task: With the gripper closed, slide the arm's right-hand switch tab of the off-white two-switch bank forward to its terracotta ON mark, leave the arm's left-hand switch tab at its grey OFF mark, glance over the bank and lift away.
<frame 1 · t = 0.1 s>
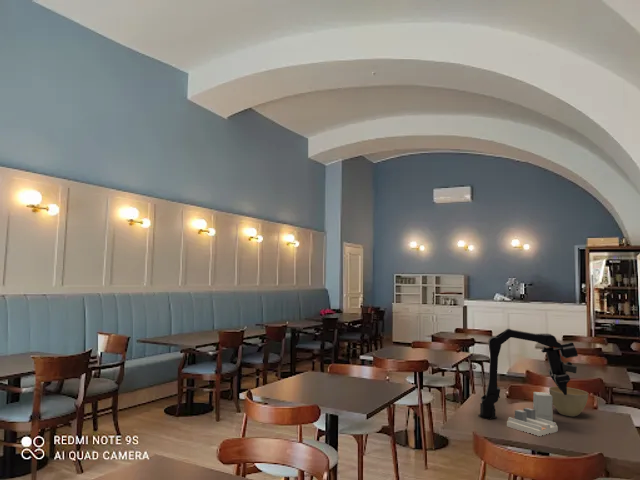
hand: (563, 392, 228), 15 cm above the table, tool pointing down, fingers open, 9 cm apart
olive green bowl: (568, 414, 246), on the table
switch tab 2: (529, 414, 225), point 5 cm above the table, slide at 0.0 cm
supplement box: (542, 420, 235), on the table
switch bank: (531, 428, 219), on the table
switch tab 1: (520, 416, 221), point 5 cm above the table, slide at 0.0 cm
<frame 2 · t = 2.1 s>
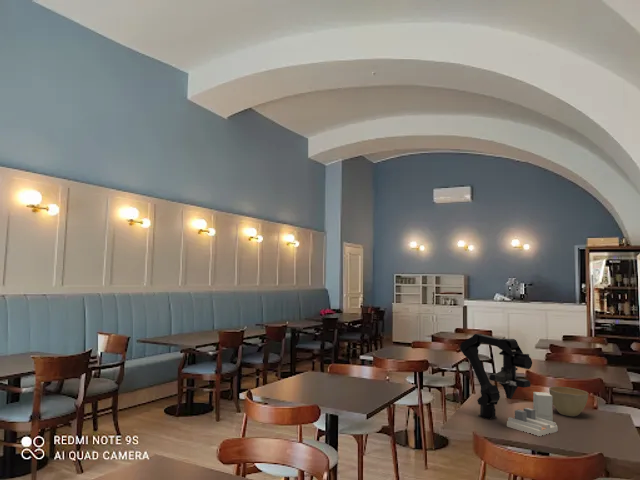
hand: (509, 398, 226), 12 cm above the table, tool pointing down, fingers closed
nothing on the table moved.
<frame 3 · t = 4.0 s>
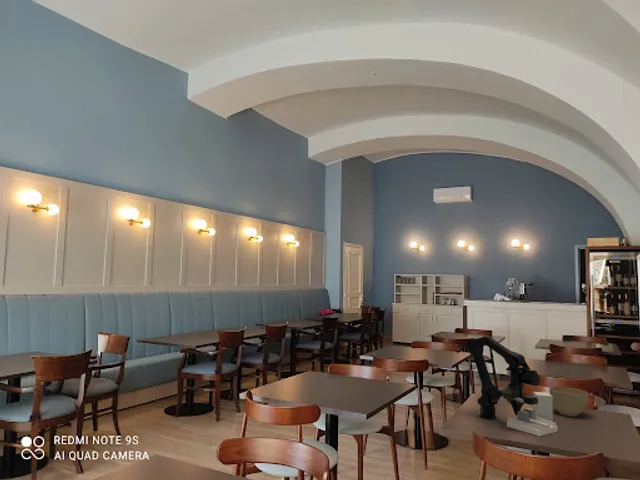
hand: (516, 415, 223), 5 cm above the table, tool pointing down, fingers closed
switch tab 1: (523, 417, 220), point 5 cm above the table, slide at 1.4 cm, touching gripper
everything else where it was.
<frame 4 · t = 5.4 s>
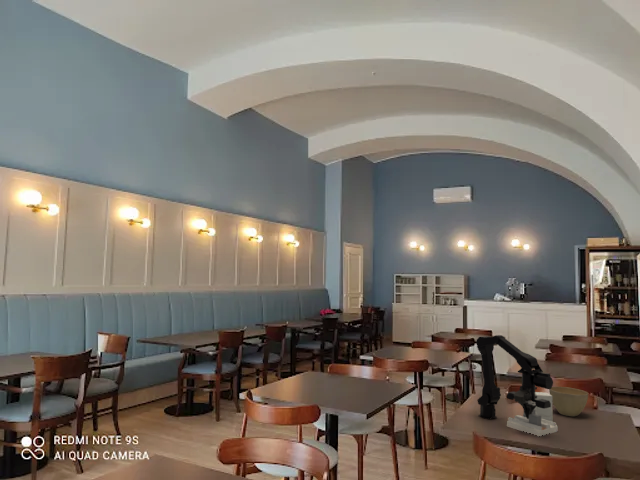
hand: (528, 418, 218), 5 cm above the table, tool pointing down, fingers closed
switch tab 1: (535, 420, 215), point 5 cm above the table, slide at 7.2 cm, touching gripper
everything else where it was.
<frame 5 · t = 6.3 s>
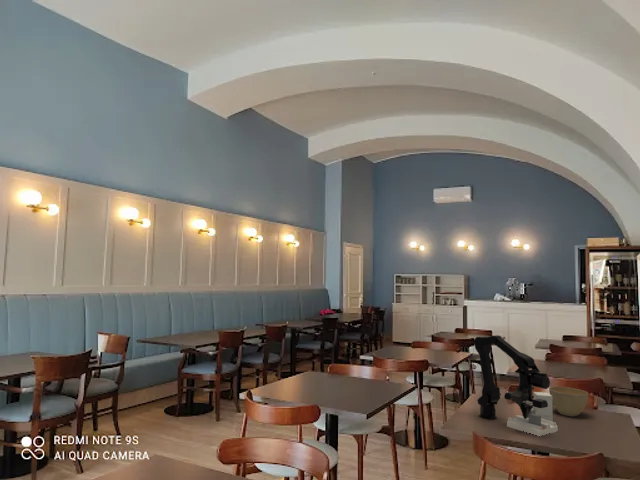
hand: (525, 418, 219), 5 cm above the table, tool pointing down, fingers closed
switch tab 1: (534, 420, 215), point 5 cm above the table, slide at 7.1 cm
everything else where it was.
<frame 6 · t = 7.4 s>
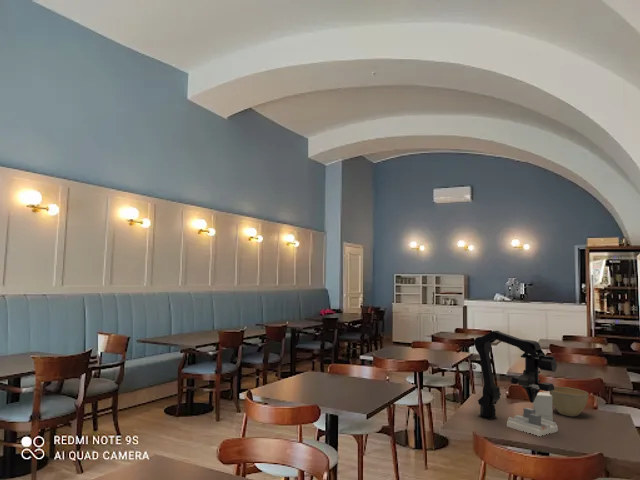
hand: (531, 402, 220), 12 cm above the table, tool pointing down, fingers closed
nothing on the table moved.
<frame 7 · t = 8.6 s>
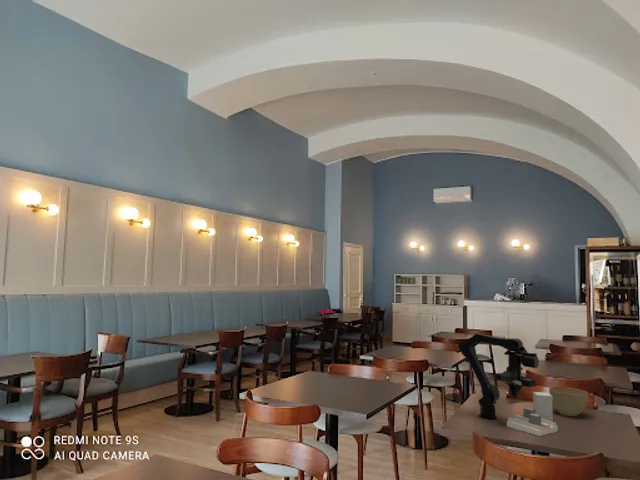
hand: (514, 397, 228), 12 cm above the table, tool pointing down, fingers closed
nothing on the table moved.
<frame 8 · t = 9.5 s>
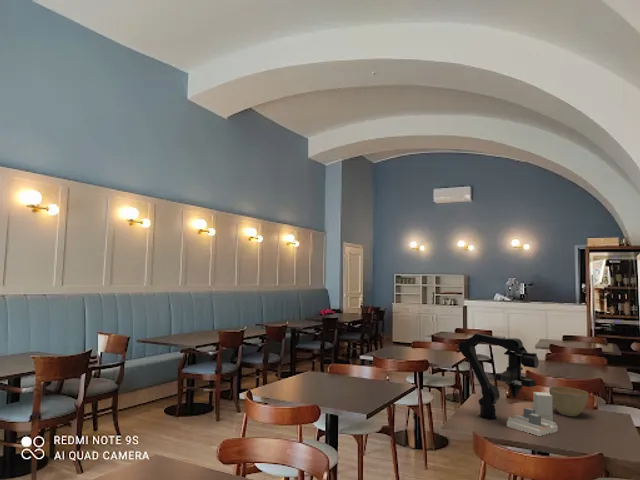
hand: (514, 397, 228), 12 cm above the table, tool pointing down, fingers closed
nothing on the table moved.
at the end: switch tab 1 slide at 7.1 cm; switch tab 2 slide at 0.0 cm; supplement box moved 0.2 cm from its start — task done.
